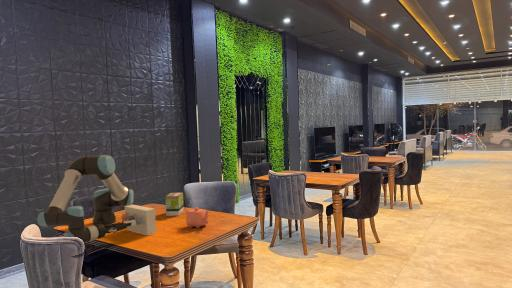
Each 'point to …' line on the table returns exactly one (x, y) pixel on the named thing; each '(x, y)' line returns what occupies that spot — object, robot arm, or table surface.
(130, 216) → the grey button
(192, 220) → the teapot
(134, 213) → the button panel
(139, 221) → the dark grey button
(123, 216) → the terracotta button
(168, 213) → the tea box
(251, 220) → the table surface
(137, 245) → the table surface
